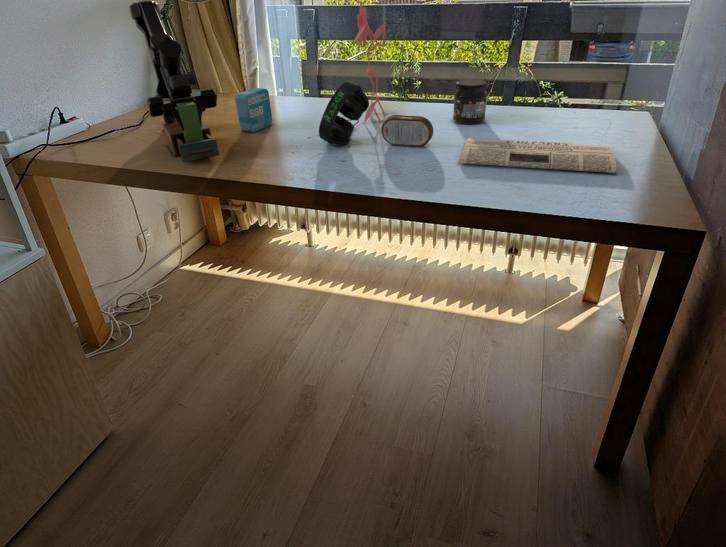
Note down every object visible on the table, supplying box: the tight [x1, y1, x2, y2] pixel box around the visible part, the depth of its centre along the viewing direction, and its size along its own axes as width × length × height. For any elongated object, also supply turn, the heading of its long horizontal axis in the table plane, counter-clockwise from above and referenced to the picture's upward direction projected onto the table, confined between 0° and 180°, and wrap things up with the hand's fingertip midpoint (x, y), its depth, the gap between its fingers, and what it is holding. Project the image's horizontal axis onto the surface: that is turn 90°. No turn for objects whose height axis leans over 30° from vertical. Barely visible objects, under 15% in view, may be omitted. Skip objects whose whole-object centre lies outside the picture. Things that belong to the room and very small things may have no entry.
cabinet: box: [162, 120, 212, 157], centre depth 150 cm, size 13×11×6 cm
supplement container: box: [452, 79, 488, 125], centre depth 159 cm, size 10×10×12 cm
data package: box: [234, 87, 273, 133], centre depth 163 cm, size 12×4×12 cm, turn 152°
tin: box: [380, 114, 434, 148], centre depth 141 cm, size 15×3×8 cm, turn 71°
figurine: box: [352, 3, 387, 123], centre depth 162 cm, size 15×26×35 cm, turn 168°
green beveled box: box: [176, 101, 204, 143], centre depth 139 cm, size 4×4×13 cm
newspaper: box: [459, 138, 617, 174], centre depth 129 cm, size 37×19×3 cm, turn 73°
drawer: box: [174, 131, 220, 163], centre depth 141 cm, size 16×10×5 cm, turn 28°
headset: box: [318, 79, 370, 147], centre depth 146 cm, size 18×14×29 cm
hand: (192, 128), depth 138 cm, fingers closed on green beveled box, 4 cm apart
